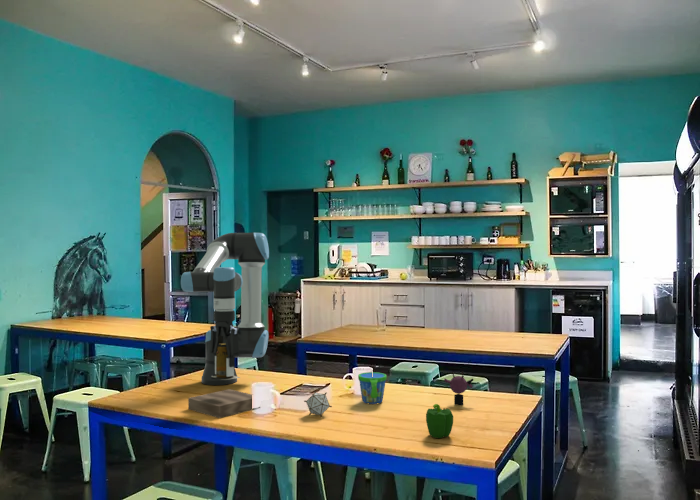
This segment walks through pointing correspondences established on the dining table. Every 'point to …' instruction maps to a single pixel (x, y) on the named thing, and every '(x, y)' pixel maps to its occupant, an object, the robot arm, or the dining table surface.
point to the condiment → (222, 363)
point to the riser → (221, 403)
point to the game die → (318, 403)
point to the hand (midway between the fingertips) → (224, 374)
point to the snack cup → (372, 387)
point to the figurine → (458, 387)
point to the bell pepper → (439, 421)
